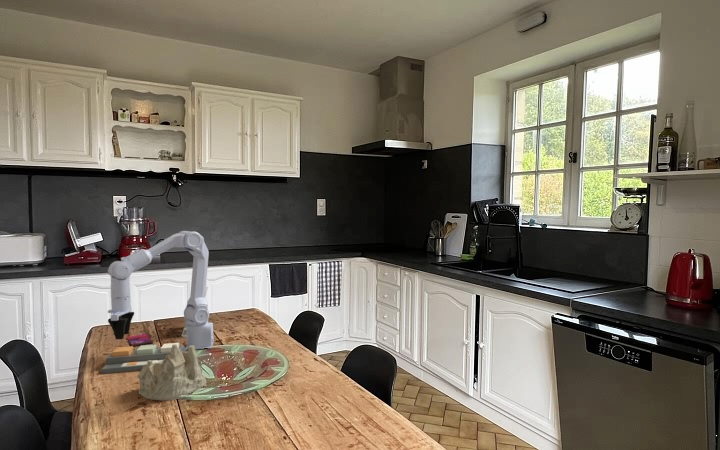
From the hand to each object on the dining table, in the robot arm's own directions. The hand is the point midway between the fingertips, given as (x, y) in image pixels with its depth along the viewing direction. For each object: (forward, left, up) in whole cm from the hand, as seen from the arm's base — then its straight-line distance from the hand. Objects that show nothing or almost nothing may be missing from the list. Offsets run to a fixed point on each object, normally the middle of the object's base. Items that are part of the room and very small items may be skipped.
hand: (122, 336), depth 148 cm
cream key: (-15, 0, -6) cm, 16 cm away
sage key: (-7, 0, -6) cm, 10 cm away
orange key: (0, 0, -6) cm, 6 cm away
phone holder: (-18, -36, -10) cm, 41 cm away
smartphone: (+2, -27, -10) cm, 29 cm away
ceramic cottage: (-21, +26, -10) cm, 35 cm away
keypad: (-7, 0, -9) cm, 12 cm away
